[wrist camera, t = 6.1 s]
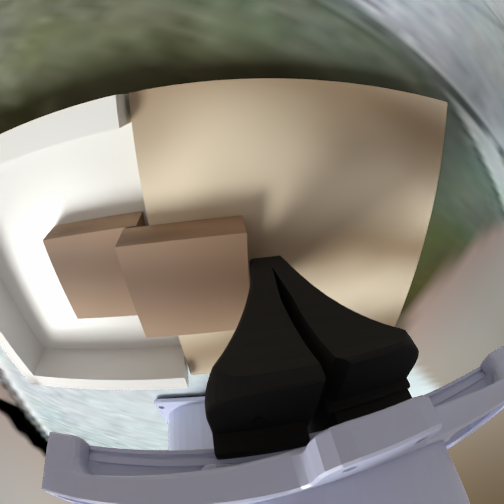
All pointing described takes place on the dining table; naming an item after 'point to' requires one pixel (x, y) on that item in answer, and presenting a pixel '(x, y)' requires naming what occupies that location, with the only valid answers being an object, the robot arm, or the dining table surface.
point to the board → (297, 180)
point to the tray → (38, 262)
